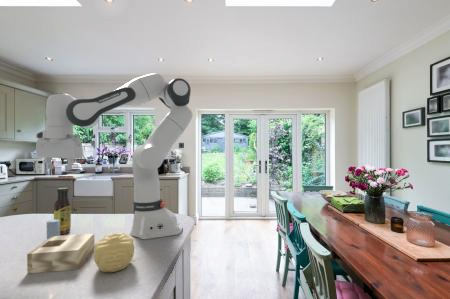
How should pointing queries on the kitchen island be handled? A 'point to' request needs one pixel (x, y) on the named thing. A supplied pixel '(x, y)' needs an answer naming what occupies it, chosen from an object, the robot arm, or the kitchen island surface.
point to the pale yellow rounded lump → (114, 252)
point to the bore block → (60, 253)
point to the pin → (53, 228)
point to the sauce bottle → (63, 210)
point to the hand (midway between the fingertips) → (59, 169)
